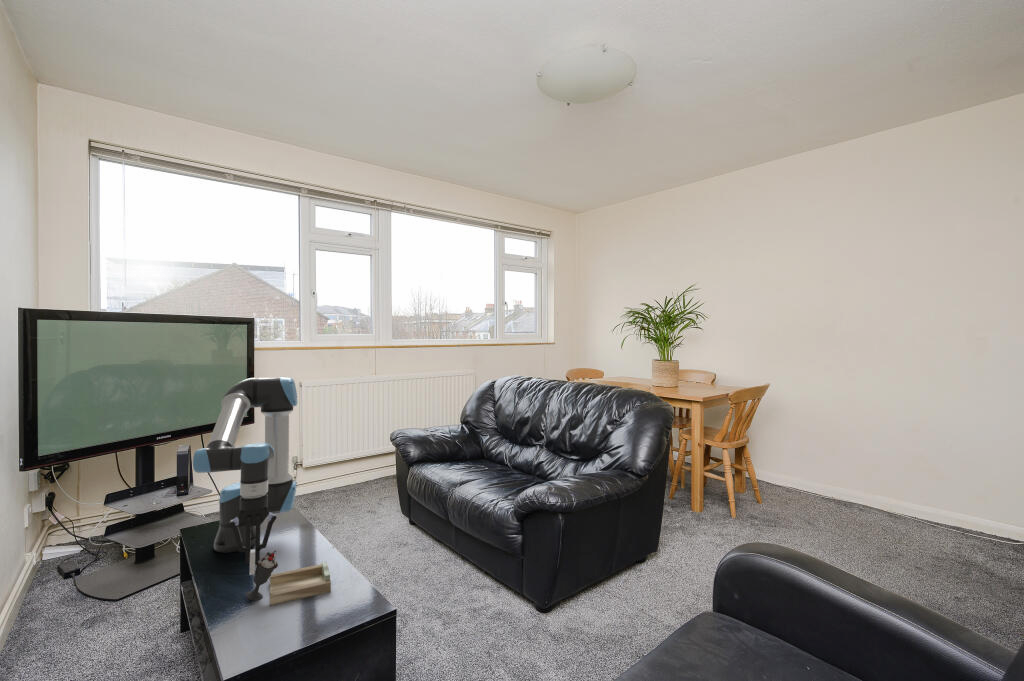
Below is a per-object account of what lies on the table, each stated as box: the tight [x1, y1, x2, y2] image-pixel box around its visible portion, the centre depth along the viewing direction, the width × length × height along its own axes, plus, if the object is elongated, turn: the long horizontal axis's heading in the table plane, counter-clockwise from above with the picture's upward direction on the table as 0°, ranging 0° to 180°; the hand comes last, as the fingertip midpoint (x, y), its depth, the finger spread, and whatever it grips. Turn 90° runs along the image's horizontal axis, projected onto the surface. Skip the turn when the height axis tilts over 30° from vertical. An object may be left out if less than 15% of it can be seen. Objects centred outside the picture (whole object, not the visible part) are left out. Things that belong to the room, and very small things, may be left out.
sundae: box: [244, 550, 279, 601], centre depth 141 cm, size 7×7×15 cm
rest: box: [269, 561, 332, 607], centre depth 146 cm, size 14×17×4 cm
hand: (252, 572), depth 139 cm, fingers closed
